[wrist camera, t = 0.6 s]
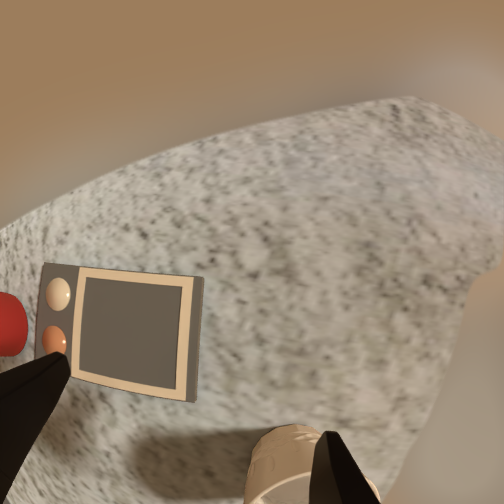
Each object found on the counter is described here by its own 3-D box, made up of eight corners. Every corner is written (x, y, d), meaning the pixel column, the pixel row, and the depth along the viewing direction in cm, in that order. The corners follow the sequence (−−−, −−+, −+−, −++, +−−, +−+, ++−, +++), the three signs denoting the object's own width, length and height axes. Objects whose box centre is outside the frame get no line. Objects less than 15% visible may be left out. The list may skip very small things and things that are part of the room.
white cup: (305, 501, 19) (328, 568, 9) (227, 472, 20) (215, 541, 10) (353, 436, 20) (405, 485, 11) (274, 402, 21) (290, 450, 12)
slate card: (196, 399, 21) (194, 403, 20) (41, 364, 21) (34, 365, 20) (204, 278, 24) (202, 276, 23) (49, 264, 24) (43, 261, 23)
